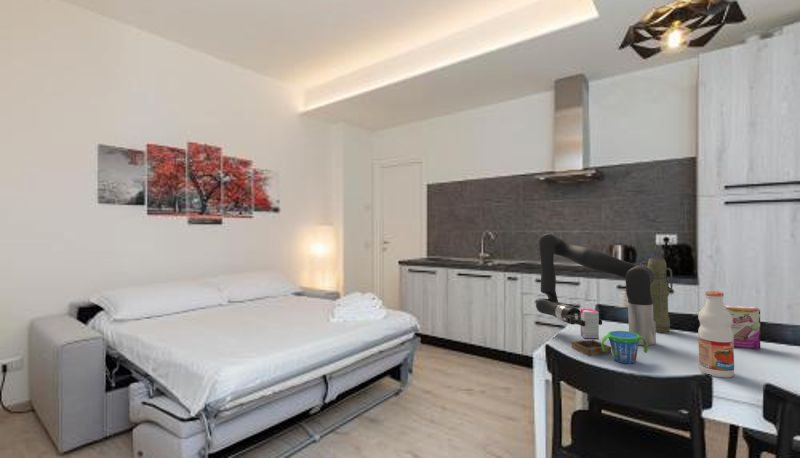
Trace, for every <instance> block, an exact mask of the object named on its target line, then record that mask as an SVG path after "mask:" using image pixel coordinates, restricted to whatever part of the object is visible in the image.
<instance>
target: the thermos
mask: <svg viewBox="0 0 800 458" xmlns="http://www.w3.org/2000/svg"><path fill="white" fill-rule="evenodd" d="M646 267H647V268H649V269H650V270H651V271H652V272H653V274H654V281H653V282H652V283H651V284H650V289H651V296H652V298H653V321H655V322H656V334H657V333H658V334H659V333H660V334H668V333H670V332H671V330H670V328H671V320H670V316H669V298H668V297H669V295H670V291H673V270H672V269H671V268H670V267H667V262H666V259H665V258H663V257H650V258H648V262H647V266H646ZM668 271H669V276H670V277H669V278H670V282H669V281H668V277H667V274H668ZM669 283H670V286H669Z"/></svg>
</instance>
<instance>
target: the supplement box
mask: <svg viewBox="0 0 800 458" xmlns="http://www.w3.org/2000/svg"><path fill="white" fill-rule="evenodd" d="M580 311H581V320H583V321H585V326H581V325H580V336H581V338H582V339H584V340H595V341H598V340H600V339H599V337H600V336H599V334H600V332H599V331H600V330H599V329H600V325H599V319H600V315H599V311H598V310H596V309H595V308H594V309H593V308H580Z"/></svg>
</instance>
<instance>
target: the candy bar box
mask: <svg viewBox="0 0 800 458" xmlns="http://www.w3.org/2000/svg"><path fill="white" fill-rule="evenodd" d="M724 306H725V308H726V310H727V311H728V312H729V313H730V314H731V316H732V324H731V330H732V332H733V339H734V348H739V349H740V348H741V349H742V348H743V349H751V350H752V349H753V350H754V349H756V350H761V309H760V308H757V307H756V306H742V305H725V304H724Z"/></svg>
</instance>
